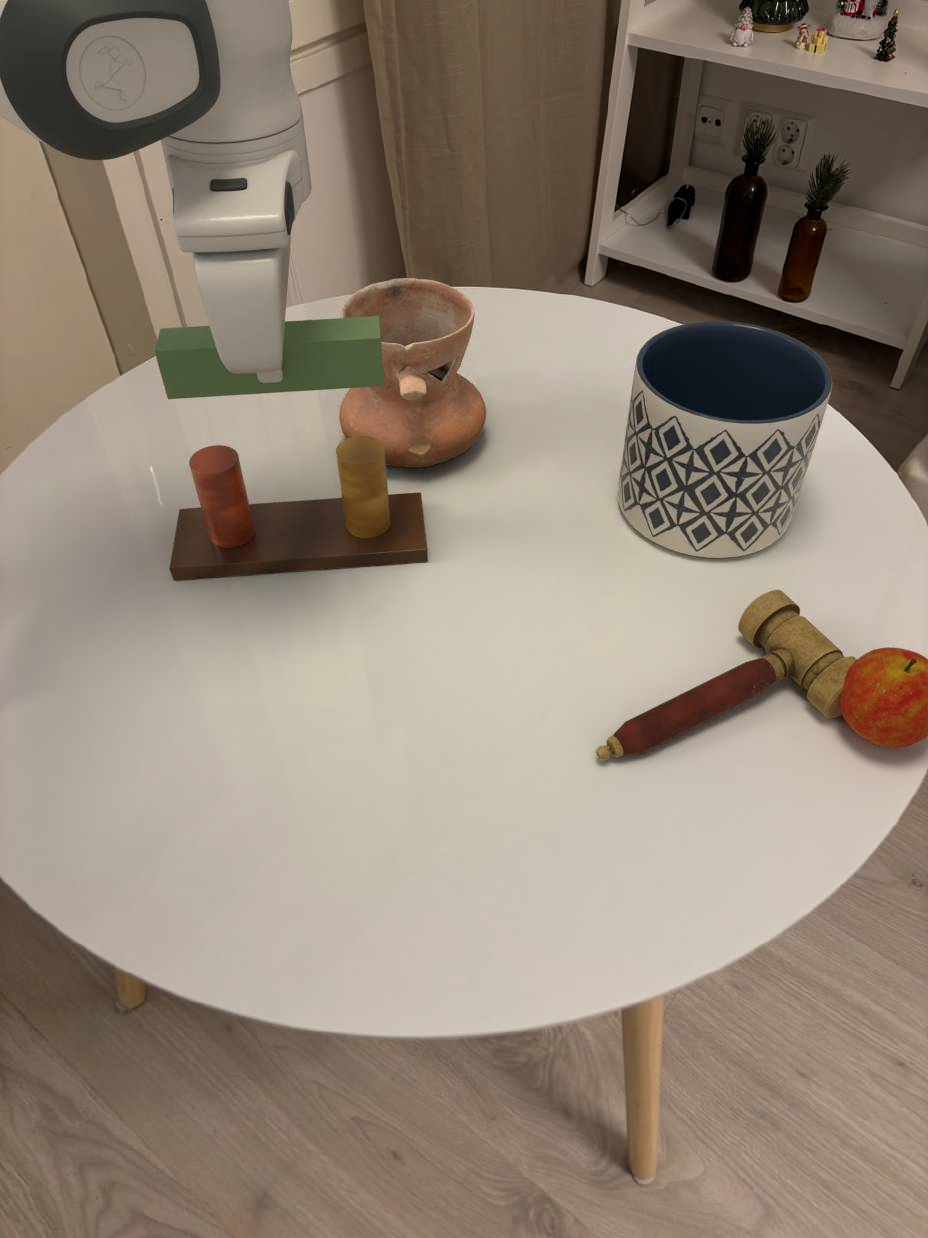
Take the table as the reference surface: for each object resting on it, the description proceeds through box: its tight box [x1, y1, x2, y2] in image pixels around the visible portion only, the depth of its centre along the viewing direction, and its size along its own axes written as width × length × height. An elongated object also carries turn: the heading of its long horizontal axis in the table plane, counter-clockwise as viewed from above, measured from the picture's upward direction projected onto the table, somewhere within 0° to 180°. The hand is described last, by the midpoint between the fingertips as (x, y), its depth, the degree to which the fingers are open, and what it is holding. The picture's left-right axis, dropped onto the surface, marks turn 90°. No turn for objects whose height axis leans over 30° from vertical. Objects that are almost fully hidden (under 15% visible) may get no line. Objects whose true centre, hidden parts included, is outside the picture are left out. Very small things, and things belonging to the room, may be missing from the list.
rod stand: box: [169, 436, 429, 582], centre depth 81 cm, size 22×8×10 cm, turn 96°
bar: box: [154, 316, 384, 400], centre depth 69 cm, size 16×3×4 cm, turn 96°
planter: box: [617, 320, 833, 559], centre depth 82 cm, size 16×16×14 cm
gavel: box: [595, 589, 858, 761], centre depth 69 cm, size 21×5×10 cm
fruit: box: [839, 647, 928, 749], centre depth 66 cm, size 7×7×8 cm
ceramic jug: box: [338, 277, 487, 468], centre depth 90 cm, size 18×14×14 cm
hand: (272, 361), depth 69 cm, fingers closed on bar, 3 cm apart
